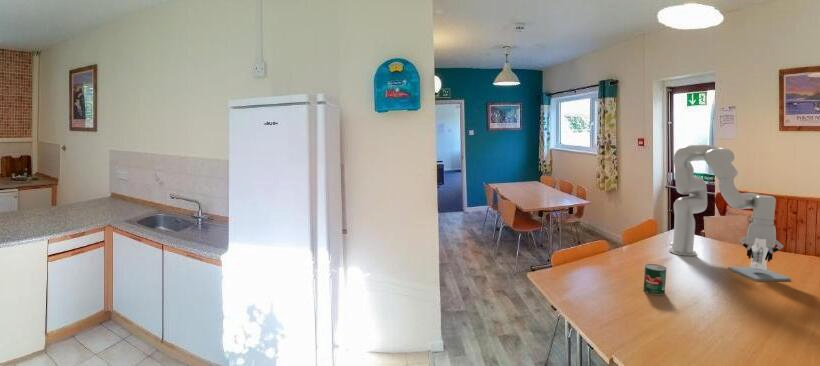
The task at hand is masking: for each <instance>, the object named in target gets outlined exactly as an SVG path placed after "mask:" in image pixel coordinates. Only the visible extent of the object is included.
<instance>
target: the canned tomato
mask: <svg viewBox="0 0 820 366" xmlns="http://www.w3.org/2000/svg"><path fill="white" fill-rule="evenodd" d="M666 280H667V267H666V266H664V265H661V264H656V263H648V264H645V265H644V279H643V289H644V290H643V292H644V291H646V292H648V293H651V294H650V295H652V294H655V295H654V296H663V295H665V294H666V292H665V291H666ZM646 292H645V293H646ZM648 293H647V294H648Z"/></svg>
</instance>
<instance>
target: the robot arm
mask: <svg viewBox="0 0 820 366" xmlns="http://www.w3.org/2000/svg"><path fill="white" fill-rule="evenodd" d="M695 161H697V162H698V161H704V162H706V164H707V166H708V167H709V168H710V170H711V171H712V172H713V174H714V175H715V176H716V178H717V180H718V187H719V188H718V189H719V192H720V194H721V197H723V200H724V201H725V203H727V204H728V206H729V207H731V208H732V209H734V210H747V209H752V217H748V219H747V220H748V222H751V223H749V225H748V228H747V233H746V236H744V237H743V238H740V239H739V240H738V242H739V243H740V244H741V245H742V246H743V247H744V248H745V249H746V256H747V259H752V256H751V245H754V242H755V238H760V239H766V247H767V248H769V253H768V258H767V262H769V263H770V261H773V256H774V255H773V254H775V253H776V252H778V251H779V250H781V249H783V248H784V245H783V244H781V242H779V241H778V240H777V231H776V229H777V228H776V225H774V224H775V222H774V221H775V213H776V211H775V210H776V201H777V199H776V198H775V196H773V195H767V194H766V195H765V194H759V193H754V192H743V193H742V192H741V193H740V191H739V190H738V189H737V187H736V185H735V182H734V181H735V178H736V177H737V176H738V174H739V172H738V170H737V169H736V167H735V166H734V165H733V162H734V161H735V153H734V152H733V151H732V150H731V149H730V148H725V147H720V146H715V145H714V146H713V145H710V144H709V145H708V144H689V145H685V146H682V147H680V148H678V149H677V150H676V151H675V153H674V155H673V164H674V176H675V178H674V179H675V180H674V181H675V190H676V192H677V193H678V194H680V195H688V196H682V197H679V198H676V199H675V201H674V202H673V205H672V206H673V214H674V221H673V222H674V223H673V225H674V227H673V238H672V242H670V244H669V245H670V246H671V247H670V248H669V250H668V251H669V253H671V252H672V254H674V255H677V256H686V257H693V256H696V255H697V252H696V250H694V242H695V234H696V233H695V232H696V219H695V217H694V214H699V213H703V212H705V211H706V210H707V207H708V189H707V188H708V186H707V183H706V181H705V179H704V178H702V177H700V176H696V175H695V174H694V173H695V172H694V171H695V169H694V167H693V164H692V163H691V162H695ZM745 241H746V242H745ZM776 245H777V246H776ZM775 246H776V247H775Z"/></svg>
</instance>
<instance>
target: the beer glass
mask: <svg viewBox="0 0 820 366" xmlns="http://www.w3.org/2000/svg"><path fill="white" fill-rule="evenodd" d="M768 253H769V248H767V247H766V239H760V238H755V242H754V245H751V262H750V265H749V267H751V268H753V269H756V270H768V268H767V267H768V266H767V262H768Z"/></svg>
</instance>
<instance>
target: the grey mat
mask: <svg viewBox="0 0 820 366" xmlns="http://www.w3.org/2000/svg"><path fill="white" fill-rule="evenodd" d="M727 270H729V271H730V272H733V273H734V274H735V273H736V274H738V275H740V276H742V277H745V278H746V279H747V278H748V279H749V280H752V281H754V282H776V281H777V282H783V281H785V282H787V281H791V279H792V278H790V277H787V276H785V275H783V274H779V273H778V272H775V271H773V270H769V269H767V270H756V269H753V268H751V267H750V266H728V267H727Z"/></svg>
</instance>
